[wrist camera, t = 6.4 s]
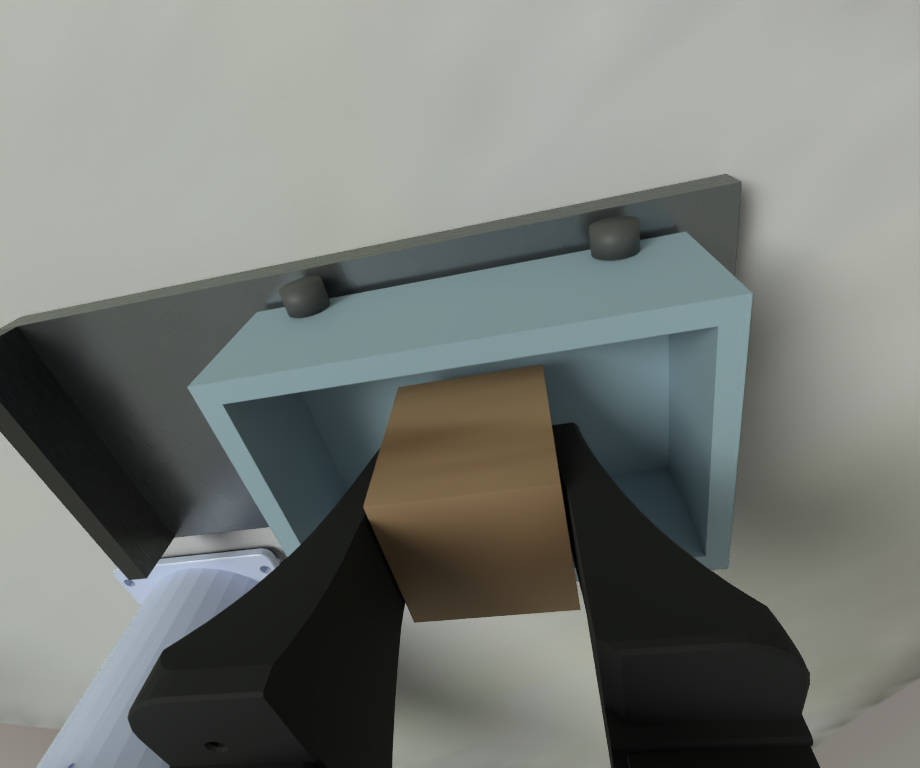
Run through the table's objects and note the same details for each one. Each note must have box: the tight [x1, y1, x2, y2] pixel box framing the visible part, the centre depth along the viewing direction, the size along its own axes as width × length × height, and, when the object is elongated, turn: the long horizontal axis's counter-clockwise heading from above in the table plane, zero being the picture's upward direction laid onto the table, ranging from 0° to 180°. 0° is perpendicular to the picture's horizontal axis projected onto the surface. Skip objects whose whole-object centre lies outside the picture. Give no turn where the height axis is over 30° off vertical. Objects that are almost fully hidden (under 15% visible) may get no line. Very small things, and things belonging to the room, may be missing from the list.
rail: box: [0, 174, 741, 580], centre depth 17 cm, size 10×22×3 cm, turn 102°
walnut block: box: [363, 365, 580, 623], centre depth 13 cm, size 4×4×4 cm
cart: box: [187, 216, 753, 581], centre depth 15 cm, size 10×12×4 cm
